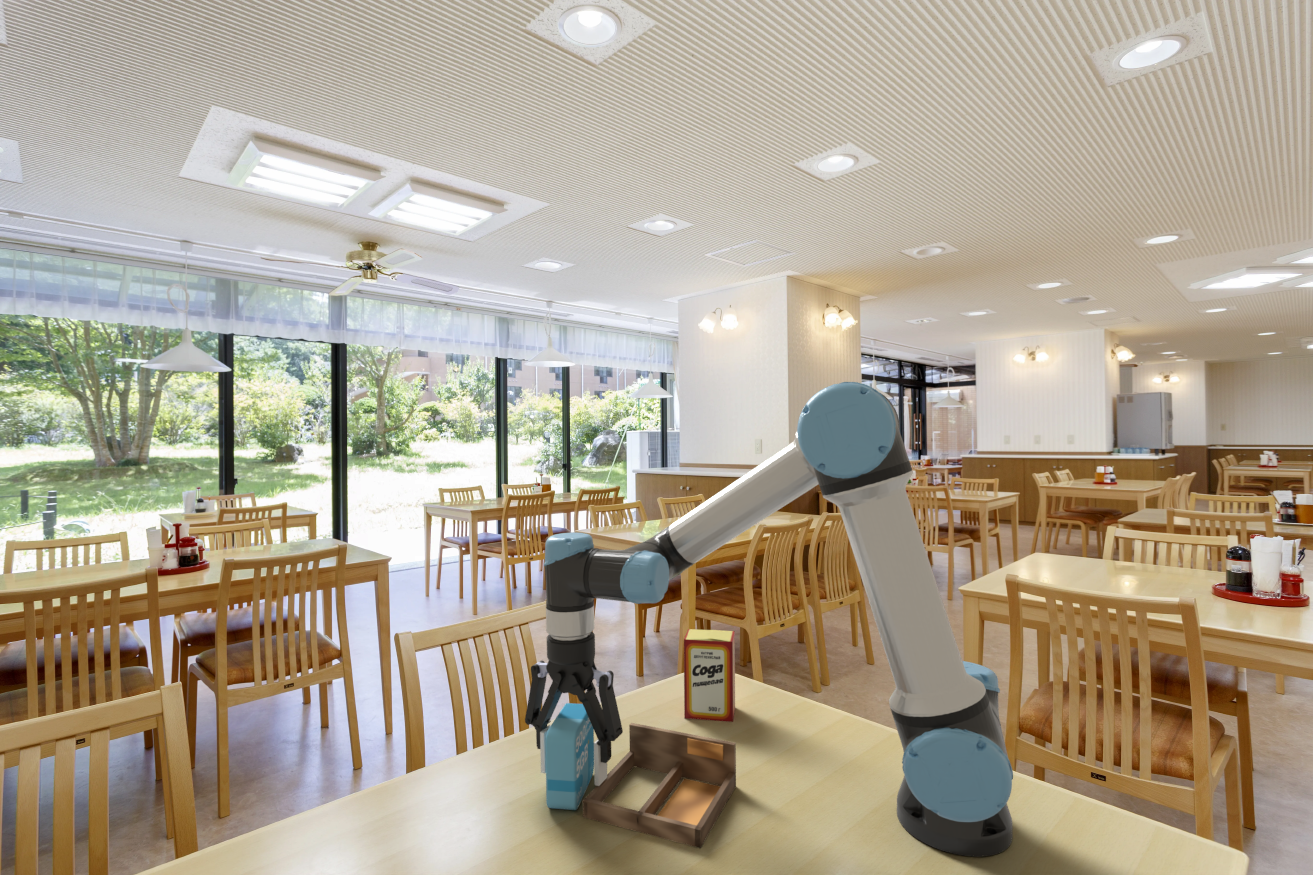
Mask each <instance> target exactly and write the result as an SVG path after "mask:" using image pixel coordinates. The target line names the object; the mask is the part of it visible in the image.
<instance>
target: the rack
mask: <svg viewBox="0 0 1313 875" xmlns="http://www.w3.org/2000/svg"><path fill="white" fill-rule="evenodd" d="M628 729H629V751H628V752H627V753H626V755H624V757H622V758H621V759H620V761H618V762H617V763H616V765H615V766H614V767H613V768H612V769H611V770H610V771H609V772H607V778H606V779H605V780H604V781H603V782H602V783H601V784H600V786H597V785H595V787H594V788H593V789H592V790H591V791H590V792H589V793H588V794H587V795H586V796H585V797H583V798H582V818H584V819H588V820H592V821H595V822H600V823H603V824H607V825H611V826H615V827H620V828H622V829H627V830H630V831H634V832H638V833H641V834H645V835H649V836H652V837H656V838H660V839H664V840H667V841H670V842H674V843H679V844H682V845H687V846H691V847H694V848H698V849H701V848H702V847H703V845H704V843H705V841H706V840H707V837H708V836H709V835H710V833H711V831H712V829H713V827H714V826H715V824H716V822H717V820H718V819H719V817H720V815H721V813H722V811H723V810H724V808H725V807H726V804H727V803H728V801H729V799H730V798H731V796H732V794H733V792H734V790H735V789H736V787H737V754H736V753H737V752H736V750H737V749H736V746H737V745H736V744H737V743H736V742H733V741H730V740H729V741H727V740H723V739H717V738H712V737H707V736H703V735H697V734H691V733H685V732H681V731H676V730H672V729H665V728H660V727H655V726H650V725H646V724H645V725H644V724H641V723H640V724H639V723H636V722H635V723H634V722H631V723H630V724H629V728H628ZM633 768H639V769H643V770H647V771H652V772H657V773H662V774H666V776H665V777H664V778H663V780H662V781H661V782H660V784H659V785H658V786H657V787H656V789H655V790H654V791H653V792H652V794H650V796H649V797H648V799H647V800H646V802H645V803H644V804H643V805H642V807H641V808H640V809H639V810H636V809H633V808H628V807H626V806H625V807H624V806H621V805H617V804H613V803H609V802H604V801H605V799H607V797H608V796H609V795H610V794H611V793H612V792H613V791H614V790H615V789H616V787H617V786H618V785H619V784H620V783H621V782H622V781H623V780H624V779H625V777H627V775H628V774H629V773H630V771H632V769H633ZM682 779H683V780H682ZM680 781H681V782H680ZM679 783H680V784H679ZM678 784H679V785H678ZM676 787H677V788H676ZM675 789H676V790H675ZM674 790H675V791H674ZM671 794H672V795H671ZM667 799H668V800H667ZM666 800H667V801H666ZM665 802H666V803H665ZM664 803H665V804H664ZM663 805H664V806H663ZM660 809H661V810H660ZM659 810H660V811H659ZM657 813H658V814H657Z"/></svg>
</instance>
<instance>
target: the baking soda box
mask: <svg viewBox="0 0 1313 875" xmlns="http://www.w3.org/2000/svg"><path fill="white" fill-rule="evenodd" d="M735 636H736V635H735V631H734V630H719V629H694V628H692V629H691V628H688V629H687V632H686V633H685V636H684V638H683V688H684V689H683V690H684V691H683V692H684V696H683V698H684V700H683V703H684V706H683V707H684V719H685V720H686V719H687V720H698V721H699V720H700V721H701V720H702V721H703V720H704V721H712V722H713V721H716V722H725V723H726V722H727V723H729V722H730V723H733V722H734V718H735V713H736V712H735V710H736V664H735V663H736V659H735V658H736V657H735V656H736V653H735V652H736V651H735V650H736V648H735V647H736V646H735V644H736V641H735V640H736V637H735Z"/></svg>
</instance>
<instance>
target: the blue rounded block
mask: <svg viewBox="0 0 1313 875" xmlns="http://www.w3.org/2000/svg"><path fill="white" fill-rule="evenodd" d="M550 725H551V726H550V728H549V729H548V732H547V735H546V773H545V788H546V789H545V790H546V791H545V792H546V793H545V794H546V796H545V797H546V800H545V801H546V807H547V808H548V809H555V810H556V809H557V810H558V809H559V810H570V811H577V810H578V809H579V806H580V805H581V803H582V801H583V799H584V796H585V793H586V790H588V786H589V785H590V782H591V780H592V778H593V774H594V742H595V740H594V738H595V736H594V734H595V731H594V729H593V727H592V724H591V722H590V720H589V717H588V715H587V713H586V710H585V708H584V706H583V703H574V702H573V703H571V702H569V703H568V702H566V703H564V706H562V708H561V709H560V711H559V712H558V714H557V715H556V717H555V719H554V720H553V722H552V723H551V724H550Z"/></svg>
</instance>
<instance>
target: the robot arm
mask: <svg viewBox="0 0 1313 875" xmlns="http://www.w3.org/2000/svg"><path fill="white" fill-rule="evenodd" d="M800 412H801V413H800V414H799V417H798V421H797V427H796V431H795V434H794V439H793V441H791V442H790V443H789V444H788V445H786V446H784V447H782V449H780V450H778V451H776V453H774V454H772V455H771V456H769V457H768V458H766V459H765V460H764V461H762V462H761V463H759V464H758V465H757V466H755V467H753V468H752V469H751V470H749V471H748V472H746V473H744V475H742V476H740V477H739V478H737V479H736V480H734V481H733V482H731V484H728V485H727V486H726V487H724V488H723V489H721V490H720V491H718V492H717V493H715V494H714V495H712V496H711V497H710V498H708V499H707V500H705V501H703V502H702V503H701V504H699V505H697V507H695V508H694V509H692V510H690V511H689V512H687V513H686V514H685V515H683V516H681V517H680V518H678V519H677V520H675V521H674V522H672V524H670V525H668V526H667V527H665V528H664V529H662V530H661V531H659V532H658V533H656V534H655V535H653V536H651V537H650V538H648V539H647V540H644V541H643V542H639V543H637V544H635V545H632V546H629V547H628V548H625V549H604V548H603V549H602V548H598V547H595V544H594V540H593V537H592V535H590V534H589V533H584V532H562V533H556V534H553V535H550V536H549V537H548V538H547V539H546V541H545V546H544V550H545V551H544V563H543V567H544V576H545V597H546V598H545V600H546V601H545V631H546V633H547V636H546V658H547V660H548V661H547V662H545V661H544V660H540V661H538V662H536V663H534V664H532V666H530V675H531V683H530V690H529V694H528V700H527V704H526V705H527V706H526V711H525V717H524V723H525V724H526V725H528V726H530V725H531V726H533V727H534V729H535V731H536V732H535V734H536V735H535V737H536V741H535V742H536V748H537V750H540V773H541V774H546V735H547V732H548V729H549V728H550V726H551V725H552V724H550V723H551V722H552V720H551V718H552V716H553V714H554V712H555V710H556V707H557V705H558V703H559V701H560V699H561V696H562V694H571V695H572V696H573V695H574V696H576V698H577V699H578V701H579V702H580V703H581V704H583V706H584V708H585V710H586V713H587V715H588V717H589V720H590V722H591V724H592V727H593V729H594V734H595V735H596V738H597V739H596V740H594V771H593V774H594V786H600V784H601V783H602V782H603V781H604V780H605V779H606V778H607V774H608V762H609V761H610V760H611V759H612V742H615V741H616V740H617V739H618V738H619V737H620V736H621V735H622V734H623V733H624V732H623V730H624V729H623V725H622V721H621V717H620V712H619V707H618V704H617V698H616V694H615V690H614V674H615V673H614V672H613V671H612V670H608V671H606V672H605V671H602V670H599V669H598V668H597V666H596V664H595V656H596V637H595V636H596V634H595V633H594V632H593V631H594V630H595V599H600V600H607V601H616V602H625V603H631V604H636V605H641V604H657V603H659V602H661V601H662V600H663V599H664V597H665V594H666V593H667V591H668V588H669V582H670V580H673V579H675V578H677V577H678V576H679V575H681V574H682V573H683V572H685V571H686V570H687V569H689V568H690V567H692V566H693V565H694V564H696V563H697V562H699V561H701V560H702V559H704V558H706V557H707V556H708V555H711V553H713V552H715V551H716V550H718V549H720V548H721V547H723V546H725V545H726V544H727V543H729V542H731V541H732V540H733V539H735V538H737V537H739V536H740V535H742V533H744V532H747V530H749V529H751V528H752V527H754V526H755V525H757V524H759V523H760V522H762V521H763V520H765V519H767V518H768V517H769V516H771V515H773V514H775V513H776V512H777V511H779V510H780V509H783V507H785V506H787V505H788V504H790V503H792V502H793V501H795V500H797V499H798V498H799V497H801V496H803V495H804V494H806V493H807V492H809V491H811V490H812V489H814V488H815V487H816V486H818V485H819V486H818V487H819V489H820V492H821V495H822V498H823V499H825V500H826V501H828V502H830V503H832V504H834V505H835V506H836V507H838V510H839V512H840V516H841V518H842V522H843V525H844V528H845V531H846V534H847V538H848V540H849V544H850V547H851V549H852V553H853V556H854V559H855V562H856V566H857V569H858V572H859V574H860V578H861V581H862V585H863V587H864V590H865V593H866V597H867V600H868V603H869V605H870V609H871V613H872V615H873V618H874V622H875V624H876V628H877V631H878V633H879V638H880V641H881V643H882V647H883V650H884V652H885V655H886V659H887V662H888V666H889V668H890V671H891V674H892V677H893V681H894V684H895V689H894V690H893V692H892V694H891V695H890V697H889V700H888V702H889V708H890V711H891V714H892V717H893V720H894V723H895V727H896V730H897V733H898V736H899V740H900V743H901V747H902V751H903V755H902V761H901V764H902V772H903V774H904V775H903V779H902V781H901V783H900V785H899V789H898V792H897V796H896V816H897V819H898V820H899V823H900V824H901V826H902V827H903V828H904V830H906V831H907V833H909V834H910V835H911V836H913V837H914V838H916V839H917V840H918V841H920V842H922V843H924V844H926V845H928V846H930V847H932V848H935V849H937V850H939V851H943V852H946V853H949V854H953V855H958V856H964V857H965V856H966V857H987V856H988V857H989V856H990V857H991V856H993V855H997V854H1000V853H1002V852H1004V851H1006V850H1007V849H1008V848H1009V847H1010V846H1011V844H1012V842H1013V820H1012V815H1011V812H1010V809H1009V806H1008V801H1009V799H1010V797H1011V794H1012V790H1013V789H1012V788H1013V780H1014V770H1013V767H1012V764H1011V761H1010V759H1009V756H1008V751H1007V747H1006V743H1005V738H1004V733H1003V729H1002V725H1001V720H1000V713H999V693H1000V692H1001V690H1000V688H999V679H998V676H997V674H996V672H994V671H993V670H992V669H991V668H988V667H986V666H984V665H981V664H978V663H975V662H970V661H965V660H963V659H962V656H961V652H960V650H959V646H958V644H957V641H956V638H955V634H954V631H953V629H952V626H951V622H950V620H949V616H948V613H947V610H946V607H945V605H944V601H943V598H942V596H941V592H940V589H939V587H938V584H937V580H936V577H935V574H934V572H933V568H932V566H931V563H930V559H929V556H928V553H927V550H926V547H925V544H924V541H923V538H922V536H921V532H920V528H919V525H918V523H917V520H916V516H915V515H914V510H913V508H912V504H911V502H910V499H909V497H908V496H909V495H908V493H907V489H906V488H907V485H908V483H909V481H910V480H911V478H912V476H913V473H914V472H913V467H912V465H911V462H910V459H909V455H908V453H907V449H906V447H905V444H904V441H903V438H902V435H901V431H900V427H901V426H900V419H899V418H900V417H899V414H898V411H897V410H896V408H895V406H894V405H893V403H892V402H891V401H890V399H888V398H887V396H885V394H882V393H881V392H880V391H878V390H877V388H874V387H872V386H870V385H868V384H865V383H863V382H862V383H861V382H857V381H844V382H839V383H834V384H832V385H829V386H826V387H824V388H822V389H820V390H819V391H818V392H816V393H814V394H813V395H812V396H811V397H810V398H809V399H808V401H807V402H806V403H805V405H804V406H803V408H802V410H801V411H800ZM548 675H549V677H550V679H551V681H552V682H551V685H550V686H549V688H548V691H547V693H548V694H547V696H546V698H545V701H544V703H543V699H544V694H545V693H544V692H545V688H546V683H547V676H548ZM594 680H595V681H596V684H594V683H593V681H594ZM595 686H596V687H597V688H598V695H599V697H598V696H597V689H596V687H595ZM598 698H599V699H598ZM542 705H543V706H542Z"/></svg>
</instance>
